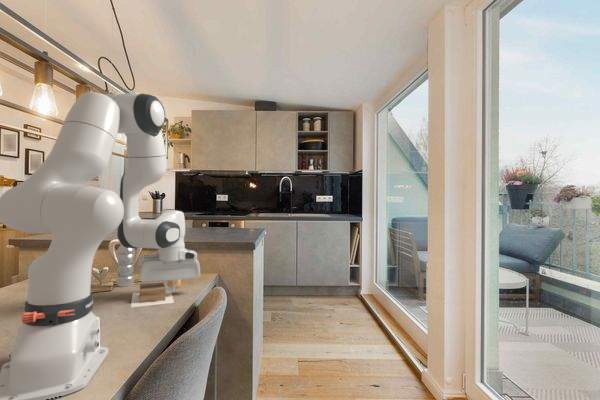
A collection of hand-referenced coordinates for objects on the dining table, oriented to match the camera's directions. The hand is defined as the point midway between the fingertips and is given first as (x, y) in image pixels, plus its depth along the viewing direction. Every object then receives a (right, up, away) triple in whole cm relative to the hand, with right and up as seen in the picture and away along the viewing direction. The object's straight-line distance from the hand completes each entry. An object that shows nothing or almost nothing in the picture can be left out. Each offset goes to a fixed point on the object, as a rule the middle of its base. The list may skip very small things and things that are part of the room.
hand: (170, 292), depth 113 cm
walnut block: (-5, -1, -2) cm, 6 cm away
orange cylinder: (-3, -2, +12) cm, 13 cm away
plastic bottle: (-23, -2, +12) cm, 26 cm away
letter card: (-5, -2, -2) cm, 6 cm away
